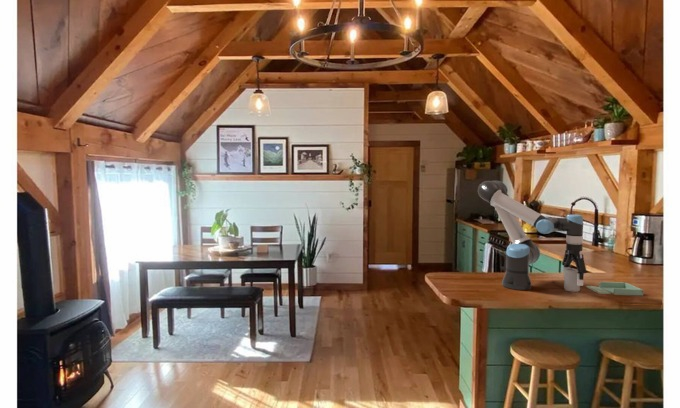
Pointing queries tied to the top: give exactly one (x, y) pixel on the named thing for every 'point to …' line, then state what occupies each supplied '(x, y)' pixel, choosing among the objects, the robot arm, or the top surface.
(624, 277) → the top surface
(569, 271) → the can
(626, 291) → the green open box
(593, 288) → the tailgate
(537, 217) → the robot arm
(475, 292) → the top surface
